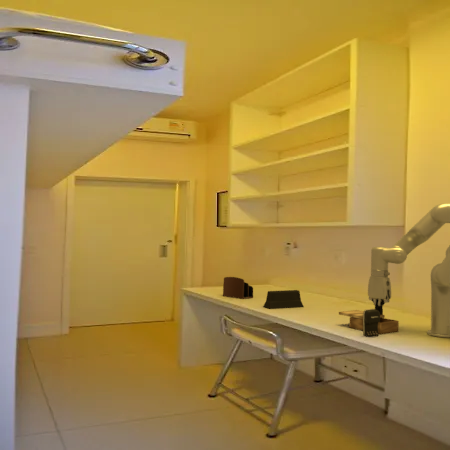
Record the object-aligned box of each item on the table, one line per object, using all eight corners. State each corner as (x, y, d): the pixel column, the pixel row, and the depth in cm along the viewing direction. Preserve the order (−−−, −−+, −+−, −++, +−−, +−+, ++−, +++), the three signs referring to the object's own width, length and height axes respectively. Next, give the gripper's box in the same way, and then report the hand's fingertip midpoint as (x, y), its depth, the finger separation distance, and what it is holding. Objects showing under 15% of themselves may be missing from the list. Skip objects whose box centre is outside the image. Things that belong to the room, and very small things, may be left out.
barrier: (269, 309, 284) (270, 292, 284) (262, 307, 292) (262, 290, 292) (304, 307, 294) (304, 290, 294) (296, 305, 302) (296, 289, 302)
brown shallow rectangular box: (398, 331, 222) (398, 320, 223) (380, 334, 216) (380, 323, 216) (367, 325, 237) (367, 315, 237) (349, 327, 230) (349, 317, 230)
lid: (384, 317, 229) (384, 308, 229) (366, 319, 222) (366, 310, 222) (356, 312, 243) (356, 303, 243) (338, 314, 236) (338, 305, 236)
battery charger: (367, 337, 209) (367, 310, 209) (362, 335, 213) (362, 309, 213) (381, 336, 212) (381, 310, 212) (375, 334, 215) (375, 308, 215)
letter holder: (243, 299, 325) (243, 278, 325) (222, 296, 339) (223, 276, 340) (253, 298, 332) (253, 277, 332) (233, 295, 346) (233, 275, 346)
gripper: (398, 275, 220) (397, 316, 220) (371, 272, 233) (370, 311, 232) (387, 275, 216) (386, 317, 216) (360, 272, 228) (360, 312, 228)
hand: (378, 314), depth 224 cm, fingers closed
